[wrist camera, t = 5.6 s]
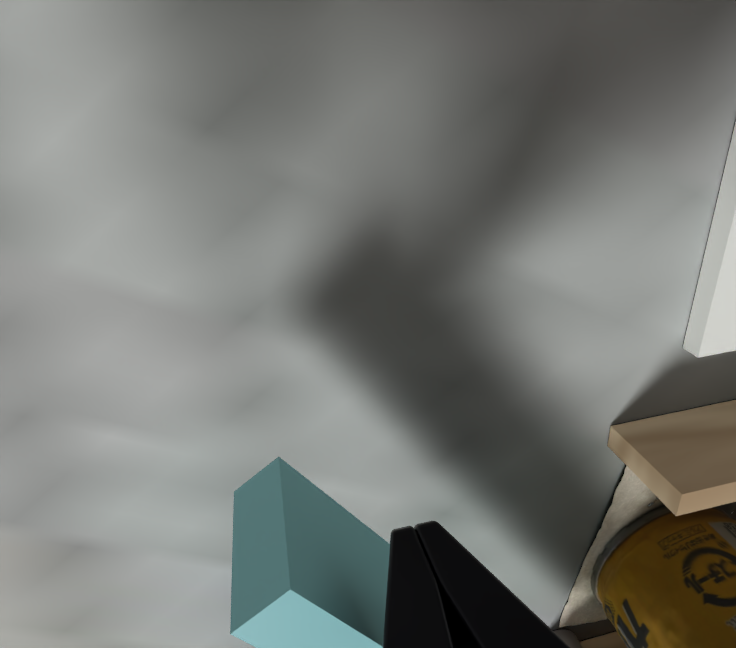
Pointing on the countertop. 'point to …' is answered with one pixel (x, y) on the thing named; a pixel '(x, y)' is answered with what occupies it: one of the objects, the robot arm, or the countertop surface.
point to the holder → (676, 469)
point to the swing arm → (304, 567)
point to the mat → (717, 275)
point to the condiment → (659, 573)
